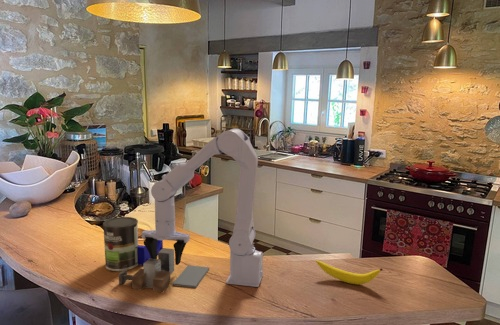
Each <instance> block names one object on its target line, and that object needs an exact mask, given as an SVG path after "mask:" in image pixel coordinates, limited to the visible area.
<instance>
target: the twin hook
mask: <svg viewBox="0 0 500 325" xmlns="http://www.w3.org/2000/svg"><path fill="white" fill-rule="evenodd" d="M142 266H143V269H144V288H147V289H153V278H154V277H155V276H156V275H157V274H158V273H159V272H160V271H161V260H160V259H158V258H157V259H150V258H149V259H148V260H147V261H146V262H145V263H144V264H143V265H142Z"/></svg>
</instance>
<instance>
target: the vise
mask: <svg viewBox="0 0 500 325" xmlns="http://www.w3.org/2000/svg"><path fill="white" fill-rule="evenodd" d="M126 281H131V286H132V287H131V288H132V290H141V291H142V290H143V289H144V288H145V287H144V268H139V270H137V271H136V272H135V273H134V274H133V275H132V274H128V270H125V269H124V270H123V271H120V272H119V274H118V284H119V285H123V284H124V283H125V282H126ZM170 285H171V275H170V272H167V271H160V272H159V273H158V274H157V275H156V276H155V277H154V278H153V288H152V290H153V292H159V293H164V292H165V291H166V289H168V287H169V286H170Z"/></svg>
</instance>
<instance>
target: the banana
mask: <svg viewBox="0 0 500 325" xmlns="http://www.w3.org/2000/svg"><path fill="white" fill-rule="evenodd" d="M315 263H316V264H317V265H318V266H319V268H320V269H321V270H322V271H323V272H325V273H326V274H327V275H329V276H330V277H333V278H334V279H336V280H338V281H341V282H344V283H348V284H351V285H365V284H368V283H370V282H371V281H373V280H374V279H375V278H376V277H377V276H378V275H379V274H380V272H381V271H382V272H383V268H382V267H381V268H380V269H376V270H373V271H369V272H366V273H354V272H350V271H346V270H344V269H340V268H337V267H334V266H332V265H330V264H327V263H326V262H323V261H321V260H317V259H316V260H315Z"/></svg>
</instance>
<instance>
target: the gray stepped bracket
mask: <svg viewBox="0 0 500 325" xmlns="http://www.w3.org/2000/svg"><path fill="white" fill-rule="evenodd" d="M157 259H160V260H161V271H167V272H170V276H171V275H172V274H173V272H175V250H174V248H168V247H167V248H166V247H163V249H161V250H160V251H159V252H158V255H157Z"/></svg>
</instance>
